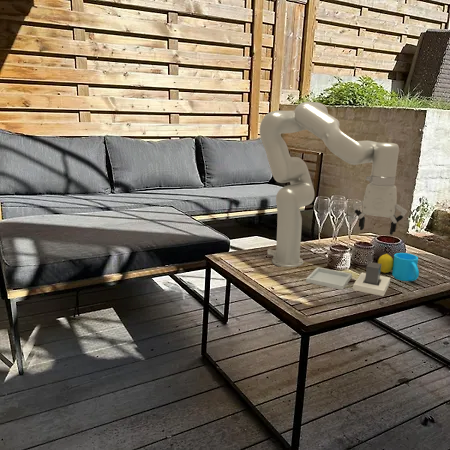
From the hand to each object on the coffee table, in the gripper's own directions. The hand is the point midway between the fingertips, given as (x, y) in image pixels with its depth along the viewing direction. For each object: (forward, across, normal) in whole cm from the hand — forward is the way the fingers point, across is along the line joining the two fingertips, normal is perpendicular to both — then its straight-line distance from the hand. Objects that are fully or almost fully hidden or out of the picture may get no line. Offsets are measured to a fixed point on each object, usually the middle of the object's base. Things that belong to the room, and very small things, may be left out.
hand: (376, 231), depth 142 cm
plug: (+20, +1, 0) cm, 20 cm away
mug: (+21, +10, +15) cm, 27 cm away
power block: (+20, +1, 0) cm, 20 cm away
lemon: (+21, +2, +16) cm, 26 cm away
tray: (+20, -14, -2) cm, 25 cm away
